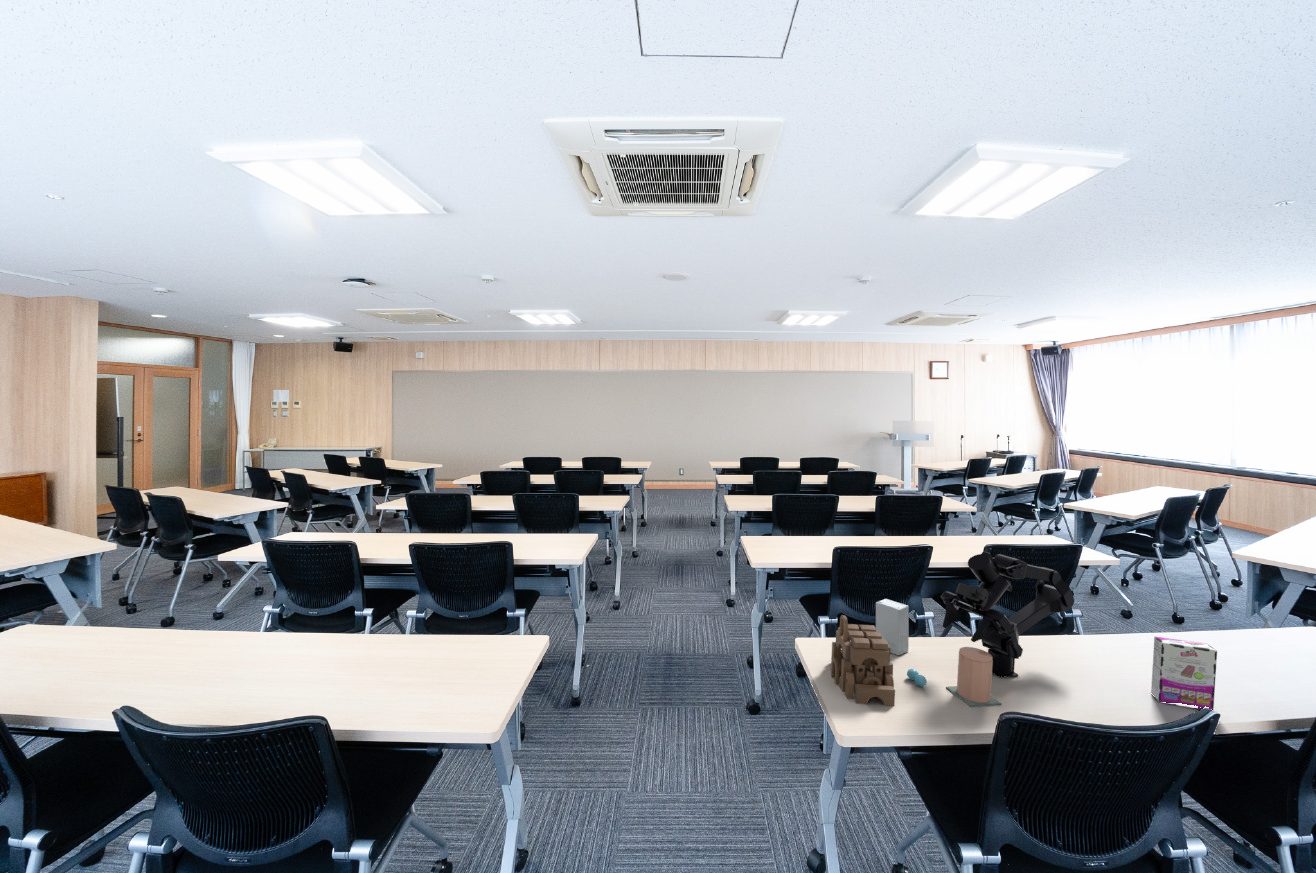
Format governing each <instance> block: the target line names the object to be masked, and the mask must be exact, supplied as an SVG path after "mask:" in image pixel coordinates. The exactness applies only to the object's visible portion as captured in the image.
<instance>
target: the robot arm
mask: <svg viewBox="0 0 1316 873" xmlns="http://www.w3.org/2000/svg"><path fill="white" fill-rule="evenodd" d="M967 566H968V567H969V568H970V570H971V572H972V573H973V574H974V576H975V577H976V579H977V580H978V581H980V583H979V585H974V586H970V585H967V584H965V583H962V582H959V584H958V586H957V588H956V590H955V593H954V592H951V591H949V590H947V591H944V592H943V593H942V595H940V599H941V600H942V601H943V603H944V604H945V615H944V618H943V622H942V627H943V629H947V628H948V627H950V626H951V625H952V624H953V623H954V622H955V621H956V620H957V619H959V617H960V616H962V614H961V613H962V612H964V610H965V611H967V612H969V613H972V614H974V615H976V616H979V617H981V618H982V619H981V624H980V625H979V626H978V627H977V629H976V631H975V632H974V633H973V635H972V636H971V639H970V641H971V642H972V643H976V642H978V641H980V640H981V643H982V644H981V645H982V646H983V647H984V648H987V652H988V653H989V654H991V655H992V660H993V664H992V675H994V676H996V677H997V678H1016V677H1019V674H1018V673H1017V672H1015V662H1016V661H1015V659H1016V660H1019V659H1020V658H1021V657H1022V654H1023V651H1024V650H1023V649H1024V648H1022V646H1021V645H1020V644H1019V641H1020V640H1019V639H1020V638H1019V637H1020V635H1022V634H1023V633H1025V632H1026V631H1027V630H1029V629H1030V628H1031V627H1033V626H1034V625H1036V624H1037V623H1039V622H1040V621H1042V620H1043V619H1044V618H1046V617H1047V616H1049V615H1050V614H1059V613H1063V612H1066V611H1068V610H1070V609H1071V608H1072V607H1073V606H1074V605H1075V598H1074V594H1073V591H1072V589H1071V587H1070V586H1069V585H1068V584H1067V583H1066V582H1065V581H1064V579H1062V577H1061V574H1060V572H1058V570H1054V569H1052V568H1048V567H1044V566H1036V565H1032V564H1028V563H1027V562H1025V561H1023V560H1022V559H1018V558H1015V557H1010V556H1008V555H1005V554H1001V553H999V554H996V555H995V556H994V557H993V556H992V555H991V553H990V552H987V551H982V552H981V553H980V554H975V555H973V556H971V557H970V558H969V559H968V561H967ZM1006 577H1007V578H1009V579H1010V578H1011V579H1013V580H1023V579H1025V578H1028V579H1032V580H1036V584H1035V586H1034V588H1035V590H1036V592H1035V599H1034V600H1032V601H1031V602H1030V603H1028V604H1026V605H1025V606H1024V607H1022V608H1021V609H1020V610H1018V611H1017V612H1015V613H1013V614H1012V615H1011V616H1009V617H1007V616H1006V614H1005V613H1003V612H1000V611H998V610H996V609H993V608H994V607H995V606H996V607H999V606H1000V602H999V600H1000V599H1001V597H1003V594H1004V593H1005V592H1006V591H1009V592H1012V590H1013V587H1012V584H1011V583H1012V581H1011V580H1007V578H1006ZM1045 582H1046V583H1049V584H1052V585H1049V584H1045ZM959 595H961V596H962V598H960V596H959ZM962 599H963V600H964V601H963V600H962ZM965 601H966V602H965Z"/></svg>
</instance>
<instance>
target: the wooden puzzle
mask: <svg viewBox="0 0 1316 873" xmlns="http://www.w3.org/2000/svg"><path fill="white" fill-rule="evenodd" d="M830 662H831V664H830V671H831V673H830V674H831V675H830V676H831V678H832V679H834V684H835V685H836V686H839V688H840V690H841V692H842V693H844V696H845V697H846V699H848V700H854V701H855V703H856V704H857V705H858V704H859V705H861V704H862V705H867V704H868V702H869V700H870V699H872V698H876V700H877V701H881V702H882V704H883V706H892V707H893V706H895V700H896V689H895V688H894V686H895V683H894V681H895V680H894V677H893V676H894V664H893V663H892V662H891V652H890V647H889V645H888V643H887V641H886V640H885V639H883V638H882V636H881V634H880V632H876V625H871V624H870V625H869V624H856V623H855V624H853V623H848V617H847V616H846V615H843V614H841V615H840V617H839V627H837V629H836V631H835V641H832V642H831V659H830Z"/></svg>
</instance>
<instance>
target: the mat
mask: <svg viewBox="0 0 1316 873" xmlns="http://www.w3.org/2000/svg"><path fill="white" fill-rule="evenodd" d="M945 688H946V689H947V690H948V691H949V692H951V693H952V694H953V695H954V696H955V697H957V698H958V699H960V700H961V701H963V703H965V704H966V705H967V706H968V707H970V708H972V707H974V708H975V707H988V706H1001V705H1002V702H1001V701H999V700H998V699H996V698H995V697H993V696H992V695H991V696H990V701H988V702H984V703H979V702H974V701H970V700H968V699H966V698H964V697H962V696H961V695H959V694H958V693H957V685H955V686H954V685H951V686H949V685H948V686H945Z"/></svg>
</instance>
